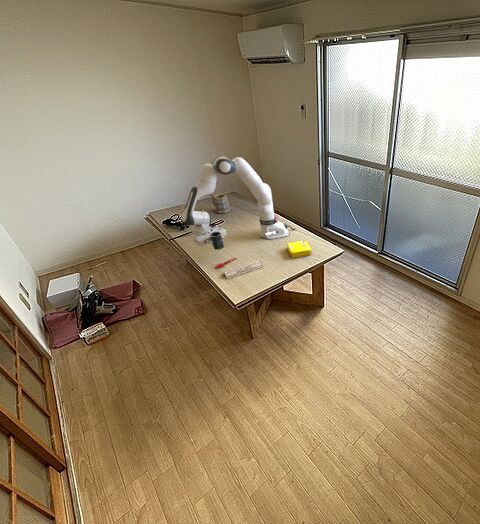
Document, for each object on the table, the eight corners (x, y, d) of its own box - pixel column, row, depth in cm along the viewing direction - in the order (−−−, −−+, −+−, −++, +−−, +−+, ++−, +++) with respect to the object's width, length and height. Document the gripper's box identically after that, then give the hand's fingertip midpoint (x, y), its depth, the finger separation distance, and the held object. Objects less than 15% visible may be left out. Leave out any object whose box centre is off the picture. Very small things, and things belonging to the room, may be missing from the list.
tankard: (233, 209, 265) (229, 194, 256) (222, 214, 256) (218, 198, 247) (219, 205, 273) (215, 190, 265) (208, 209, 265) (203, 194, 256)
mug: (211, 247, 189) (208, 234, 183) (220, 243, 193) (217, 230, 188) (219, 252, 184) (216, 239, 178) (228, 248, 188) (225, 235, 183)
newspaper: (258, 262, 193) (258, 259, 192) (262, 266, 188) (262, 264, 187) (224, 273, 182) (223, 271, 180) (227, 279, 177) (226, 276, 176)
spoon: (234, 257, 197) (233, 256, 196) (237, 259, 195) (237, 258, 194) (215, 267, 187) (214, 265, 187) (218, 269, 185) (218, 268, 185)
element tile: (286, 248, 208) (286, 242, 205) (306, 244, 212) (305, 239, 209) (291, 258, 196) (290, 252, 193) (312, 254, 201) (311, 248, 198)
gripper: (190, 235, 185) (202, 242, 178) (218, 224, 198) (230, 230, 191) (193, 243, 188) (204, 250, 181) (220, 232, 201) (231, 238, 194)
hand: (217, 240), depth 186 cm, fingers closed on mug, 7 cm apart
